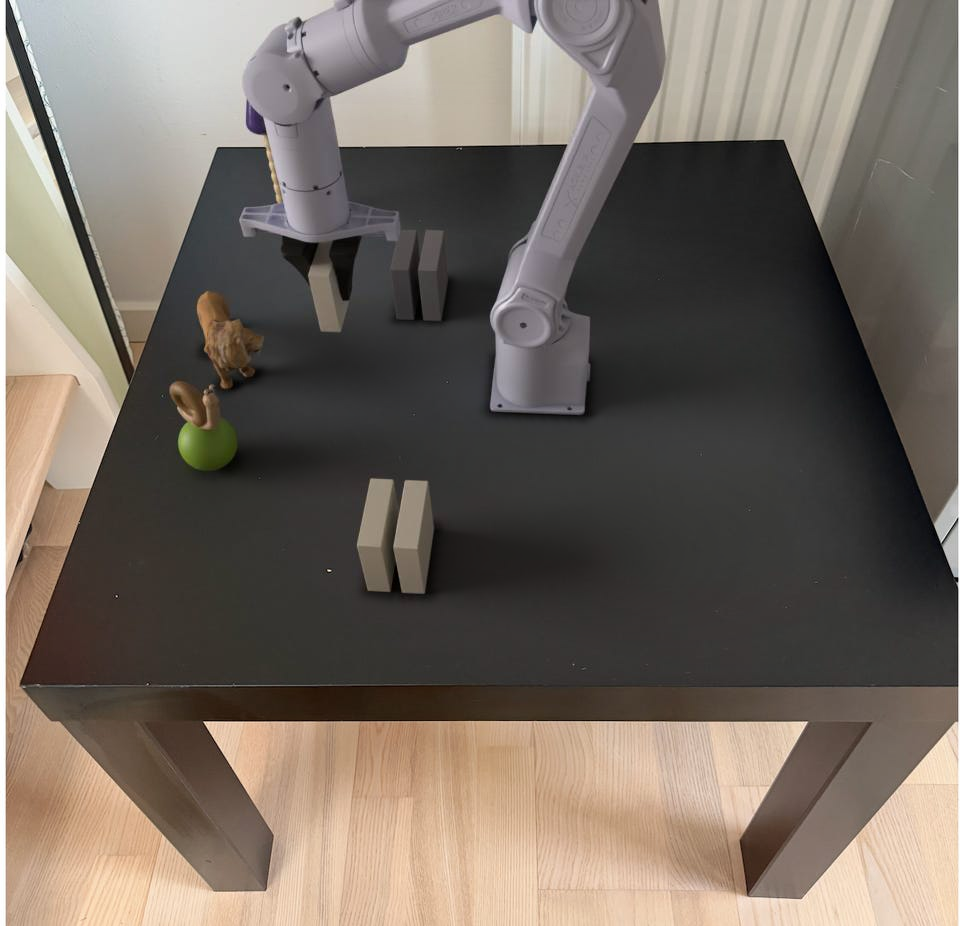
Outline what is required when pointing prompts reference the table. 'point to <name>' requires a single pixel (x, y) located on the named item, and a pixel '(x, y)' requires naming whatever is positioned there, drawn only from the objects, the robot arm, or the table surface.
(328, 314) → the beige square slab
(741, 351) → the table surface
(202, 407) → the snail figurine
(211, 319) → the lion figurine
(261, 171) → the table surface
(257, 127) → the toy lamp
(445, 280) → the gray square slab
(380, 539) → the beige square block
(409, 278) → the grey square slab
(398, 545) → the beige square block
